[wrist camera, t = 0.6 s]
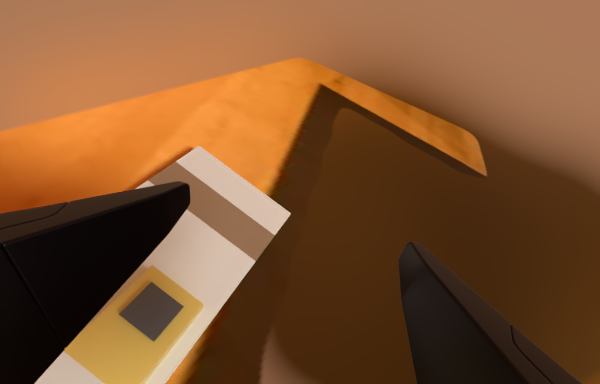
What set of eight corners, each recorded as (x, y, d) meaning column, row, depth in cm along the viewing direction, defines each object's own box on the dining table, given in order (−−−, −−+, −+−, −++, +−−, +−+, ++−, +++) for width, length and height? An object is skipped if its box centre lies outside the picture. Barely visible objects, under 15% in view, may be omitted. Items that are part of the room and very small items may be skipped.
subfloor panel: (0, 606, 10) (-22, 636, 9) (-203, 434, 10) (-246, 445, 9) (287, 218, 24) (290, 213, 23) (199, 152, 24) (198, 145, 23)
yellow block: (142, 385, 14) (124, 402, 11) (91, 346, 14) (58, 350, 11) (204, 308, 17) (203, 303, 14) (161, 275, 17) (151, 263, 14)
